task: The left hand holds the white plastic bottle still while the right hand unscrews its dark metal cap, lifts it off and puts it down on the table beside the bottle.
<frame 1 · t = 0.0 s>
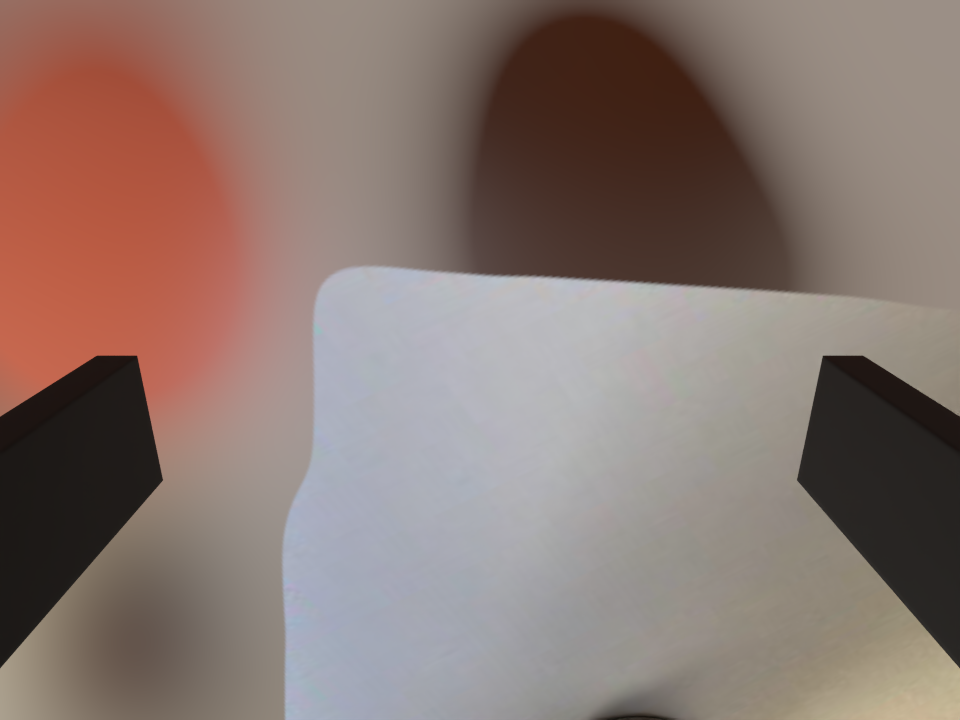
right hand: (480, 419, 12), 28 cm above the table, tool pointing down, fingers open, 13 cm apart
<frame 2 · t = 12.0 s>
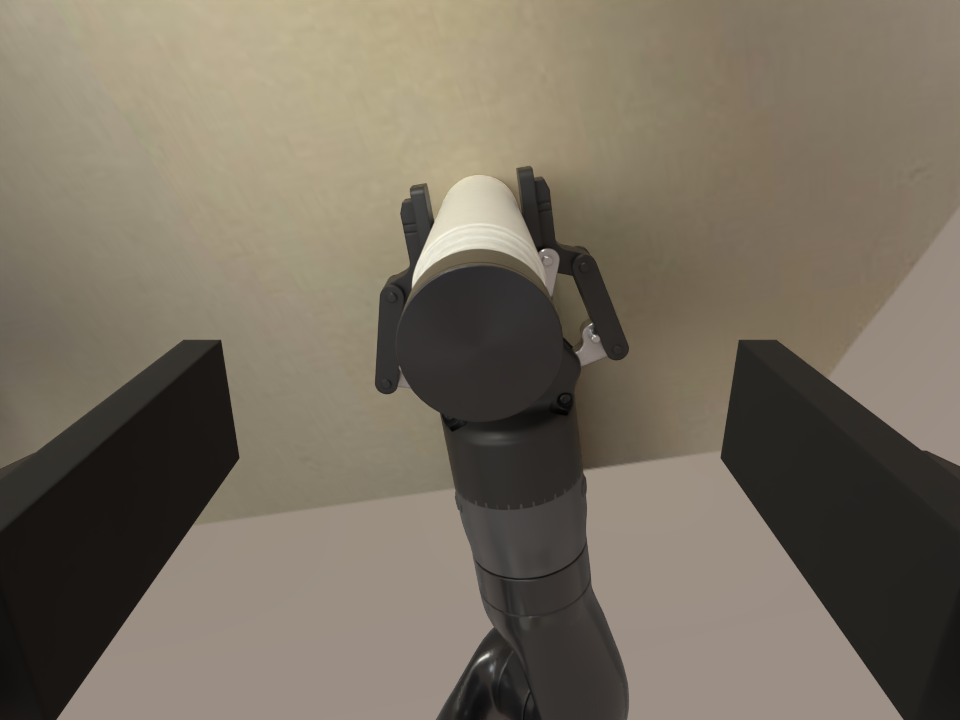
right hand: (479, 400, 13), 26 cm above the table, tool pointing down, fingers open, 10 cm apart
bottle: (479, 214, 38), on the table, touching left hand
cap: (479, 343, 17), point 23 cm above the table, screwed on, not yet turned
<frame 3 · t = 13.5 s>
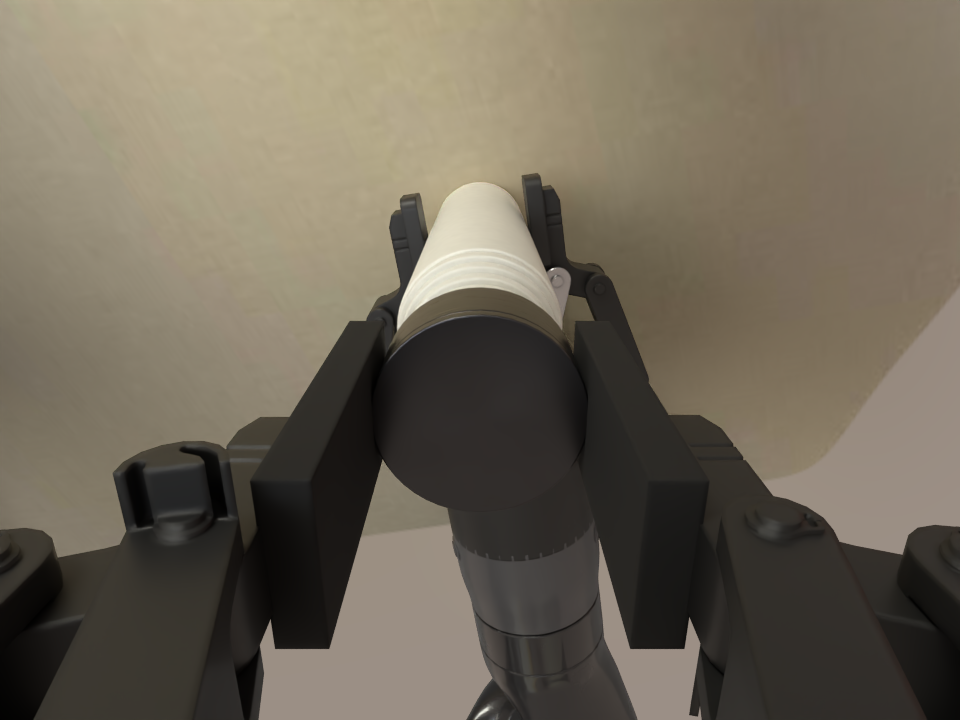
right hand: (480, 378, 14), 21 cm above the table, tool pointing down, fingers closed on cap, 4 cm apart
bottle: (479, 226, 34), on the table, touching left hand
cap: (479, 413, 13), point 23 cm above the table, screwed on, not yet turned, touching right hand
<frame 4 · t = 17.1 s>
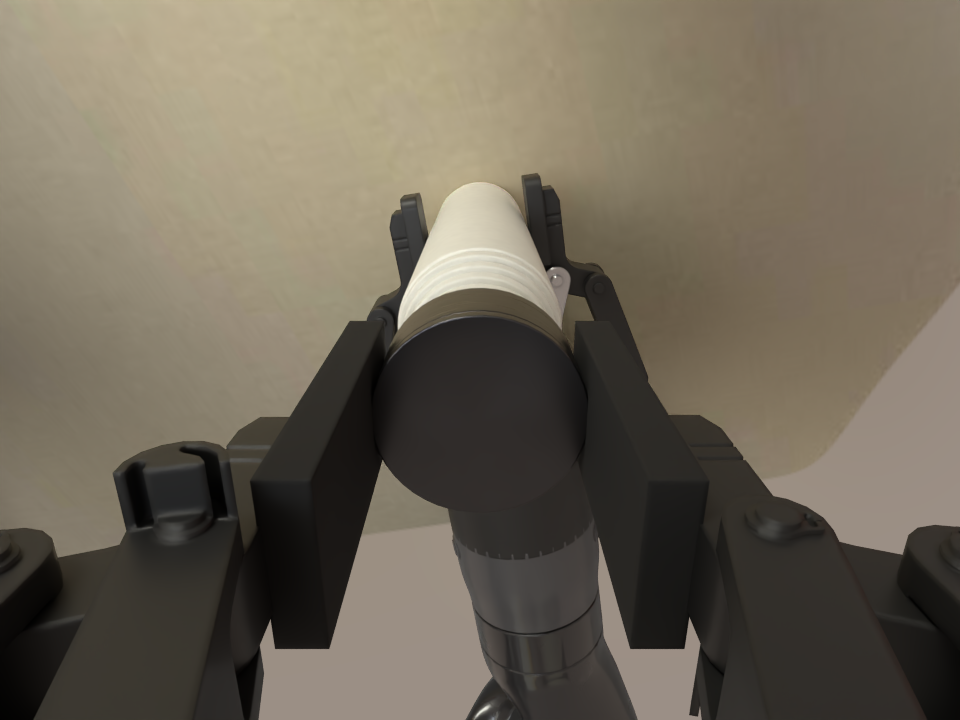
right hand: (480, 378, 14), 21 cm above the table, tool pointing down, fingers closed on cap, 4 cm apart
bottle: (479, 225, 34), on the table, touching left hand
cap: (479, 413, 13), point 23 cm above the table, turned 126° so far, risen 0.1 cm, still on its thread, touching right hand
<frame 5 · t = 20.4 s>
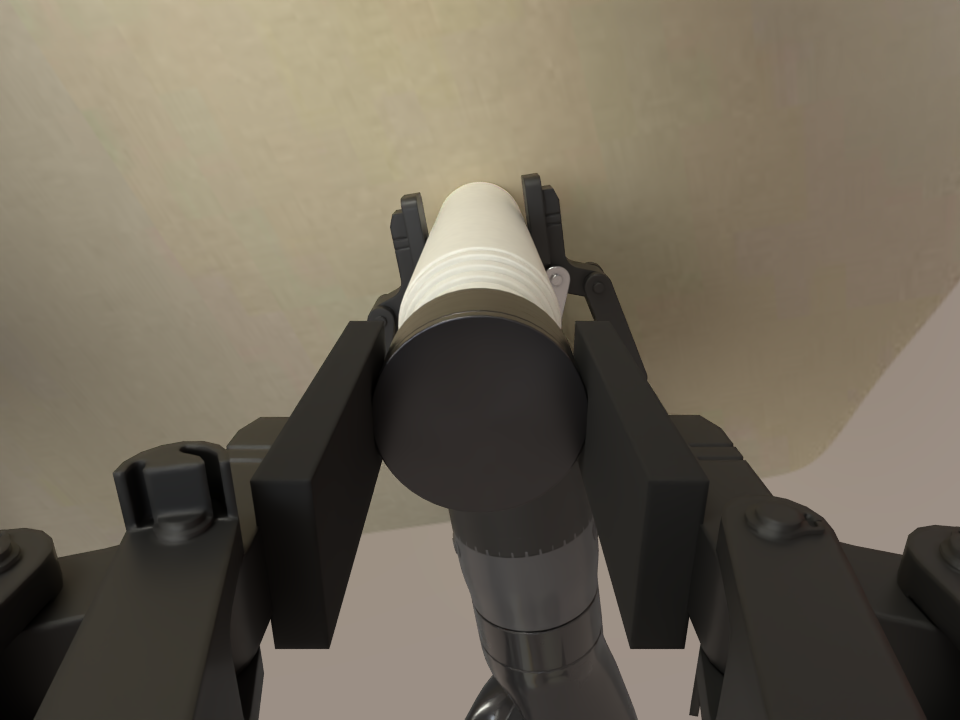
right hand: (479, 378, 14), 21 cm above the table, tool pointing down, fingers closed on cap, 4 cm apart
bottle: (479, 225, 34), on the table, touching left hand
cap: (479, 413, 13), point 23 cm above the table, turned 253° so far, risen 0.3 cm, still on its thread, touching right hand
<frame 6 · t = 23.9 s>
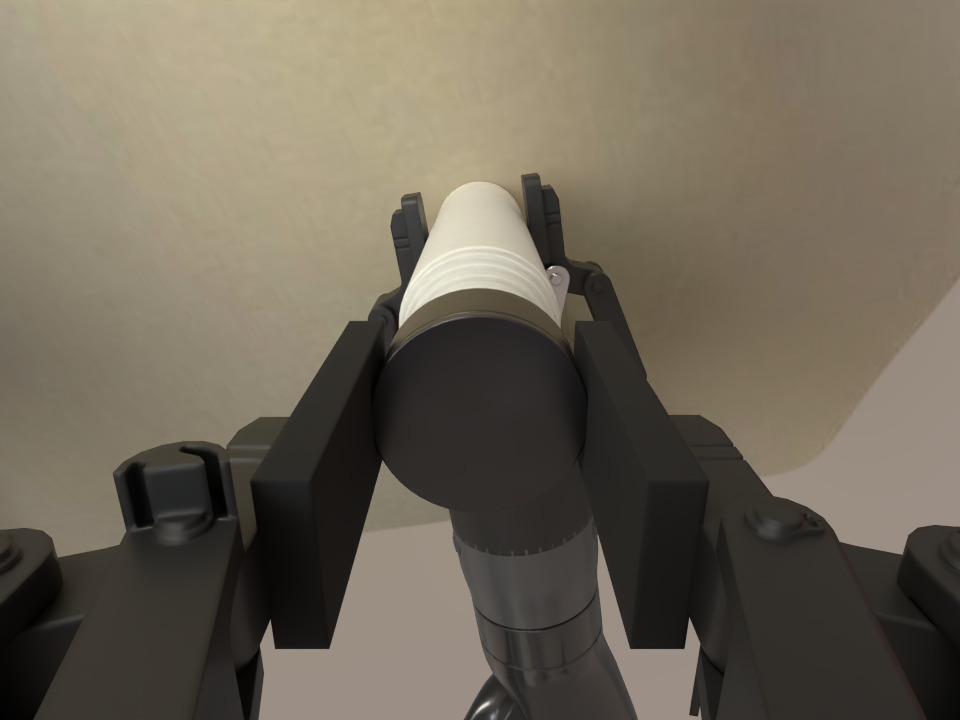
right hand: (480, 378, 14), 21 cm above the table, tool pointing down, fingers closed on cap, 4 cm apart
bottle: (479, 225, 34), on the table, touching left hand
cap: (479, 414, 13), point 23 cm above the table, turned 379° so far, risen 0.4 cm, still on its thread, touching right hand
when the right hand's fingers open (1 cm above the table, at t = 30.5 s): cap drops 1 cm, point 2 cm above the table.
when the left hand's fingers open (6 cm above the table, at t = 31.8 s): bottle stays where it is, on the table.
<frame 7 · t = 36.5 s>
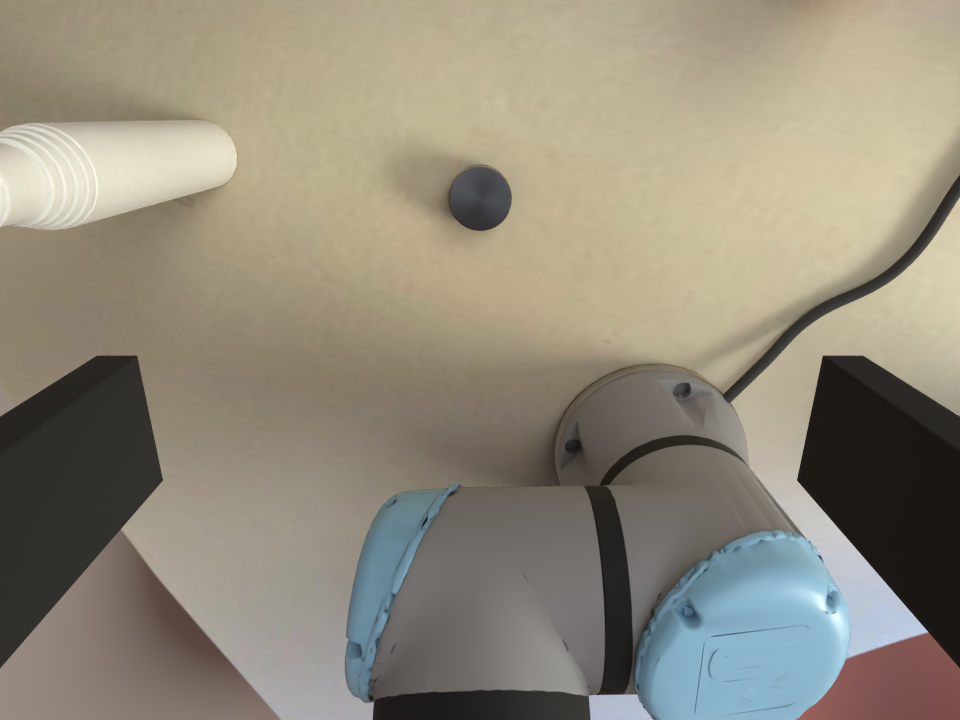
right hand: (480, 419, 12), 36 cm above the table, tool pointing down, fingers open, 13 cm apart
bottle: (204, 154, 45), on the table
cap: (480, 198, 44), point 2 cm above the table, off its thread
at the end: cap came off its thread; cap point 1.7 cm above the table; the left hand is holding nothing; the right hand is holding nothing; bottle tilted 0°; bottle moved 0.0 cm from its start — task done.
